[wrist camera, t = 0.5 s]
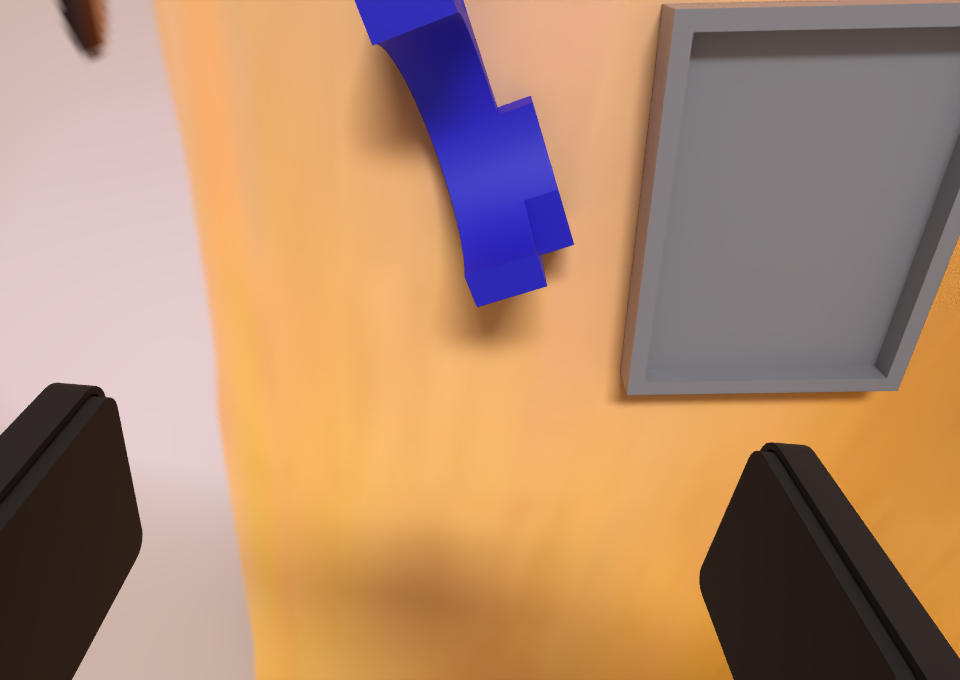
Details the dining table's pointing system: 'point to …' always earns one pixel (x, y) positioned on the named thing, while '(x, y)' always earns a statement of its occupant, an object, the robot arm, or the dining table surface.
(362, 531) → the dining table surface
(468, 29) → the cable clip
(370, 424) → the dining table surface
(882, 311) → the shallow rectangular tray
